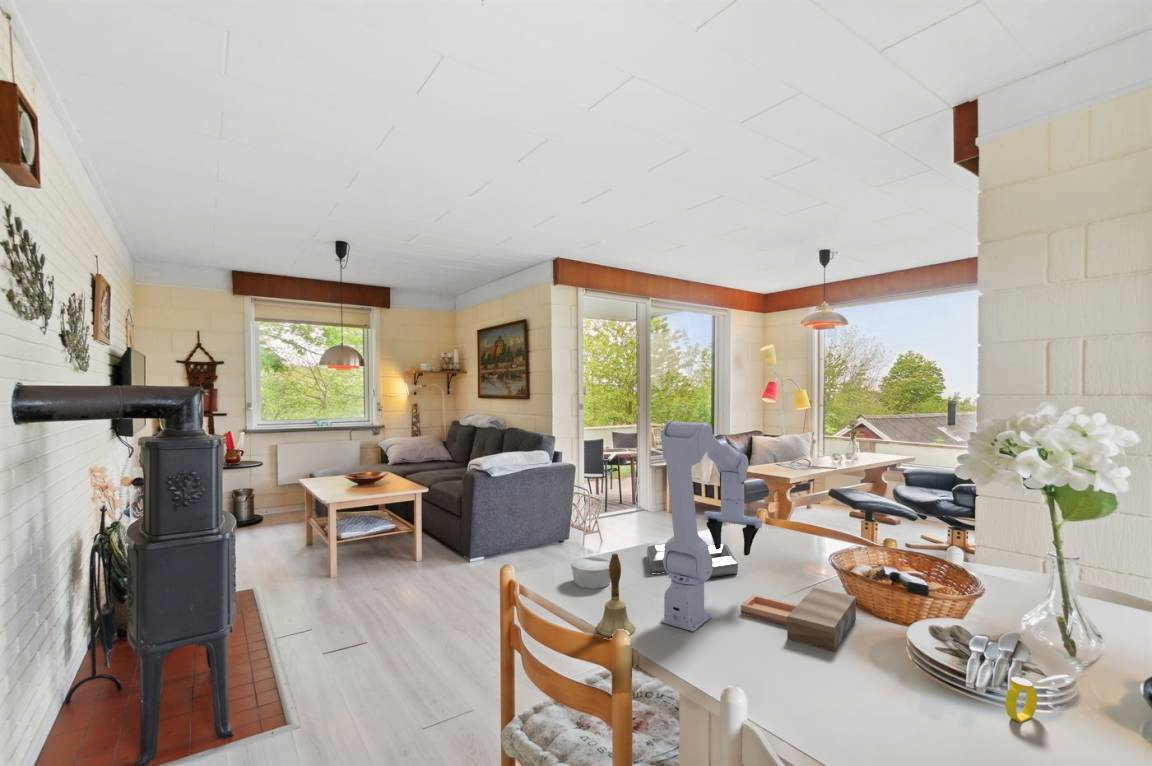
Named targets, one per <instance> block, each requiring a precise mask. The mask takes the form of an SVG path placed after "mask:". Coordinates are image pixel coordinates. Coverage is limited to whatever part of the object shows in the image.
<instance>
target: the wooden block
mask: <svg viewBox="0 0 1152 766" xmlns="http://www.w3.org/2000/svg"><path fill="white" fill-rule="evenodd" d="M796 605H797V606H796V607H795V608H794V609H793V610H792V611H791V612H790V613H789V615H788V616H787V626H786V629H787V631H786V634H787V637H786V639H787V638H788V639H787V640H792V641H794V640H795V641H794V642H798V643H801V644H805V645H809V646H812V647H816V648H820V649H823V650H826V651H827V650H828V651H831V652H836V649H837V648H838V646H839V645H840V643H841V642H842V640H843V638H845V635H846V634H847V632H848V631H849V629H850V627H851V626H852V624H853V623H854V621H855V619H856V618H857V597H856V596H854V595H851V594H845V593H840V592H838V591H837V592H836V591H831V590H827V589H823V588H817V587H812V589H811V590H810V591H809V592H808V593H807V594H806V595H805V596H804V597H803V598H802V599H801V601H800V602H799V603H798V604H796Z"/></svg>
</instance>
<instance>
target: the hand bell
mask: <svg viewBox="0 0 1152 766" xmlns="http://www.w3.org/2000/svg"><path fill="white" fill-rule="evenodd" d="M609 575H610V579H611V581H610V583H611V593H610V596H611V597H610V598H611V599H610V600H608V601H607V602H605V604H604V609H603V610H604V611H603V616H602V618H601V620H600V621H599V622H598V623H597V624H596V627H595V630H596V631H597V633H599V634H600V635H602V636H605V637H609V638H612V637H611V636H612V634H613V633H614V631H616V630H617V629H624V630H627V631H628V632H629V633H630V634H631V635H632V634H634V632H635V630H636V627H635V625H634V623H633V622H632V621H631V620H630V618H629V615H628V613H627V606H626V603H625V602H624V601H622V600H620V585H619V584H620V579H621V575H622V565H621V561H620V558H619V554H618V553H612V554H611V558H610V564H609Z"/></svg>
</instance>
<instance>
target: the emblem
mask: <svg viewBox="0 0 1152 766" xmlns="http://www.w3.org/2000/svg"><path fill="white" fill-rule="evenodd" d="M665 544H666V543H659V544H658V543H657V544H652V545H648V546H647V548H646V555H647V561H648V566H649V570H650V574H651V573H661V574H663V573H662V572H666V571H665V568H664V565H663V557H664V545H665ZM708 546H709V552H710V555H711V557H712V560H713V570H712V574H711V576H710V578H716V577H723V576H728V575H729V576H730V575H736V574H738V572H739V566H738V565H739V564H738V562H737V559H736V558H735V556H734V555H733V552H732V551H731V550H730V548H729V546H728V544H726V543H721V548H720V549H719V550H715V545H714V544H708Z"/></svg>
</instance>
